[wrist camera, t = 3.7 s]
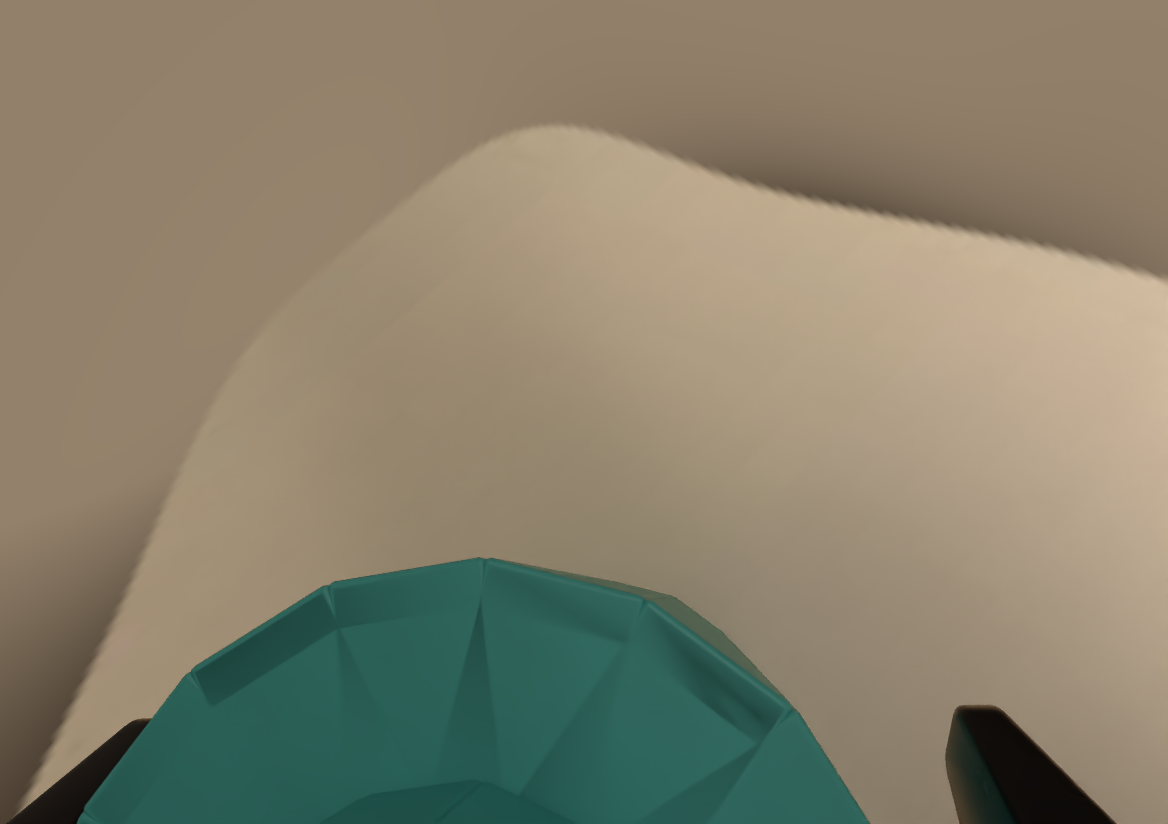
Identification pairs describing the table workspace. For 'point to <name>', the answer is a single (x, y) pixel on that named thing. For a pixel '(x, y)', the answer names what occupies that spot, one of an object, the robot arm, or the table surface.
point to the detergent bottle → (477, 714)
